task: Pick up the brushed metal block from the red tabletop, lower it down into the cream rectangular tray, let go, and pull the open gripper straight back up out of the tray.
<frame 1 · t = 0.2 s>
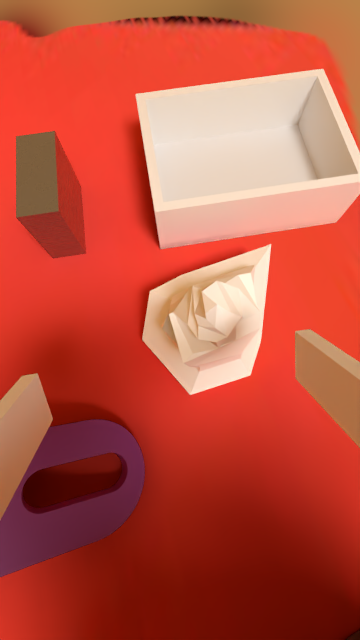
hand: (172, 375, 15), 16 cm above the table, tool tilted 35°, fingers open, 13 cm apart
cream rectangular tray: (235, 182, 37), on the table
cream faceted chunk: (209, 331, 32), on the table
mounting bracket: (54, 477, 28), on the table
brushed metal block: (67, 221, 36), on the table
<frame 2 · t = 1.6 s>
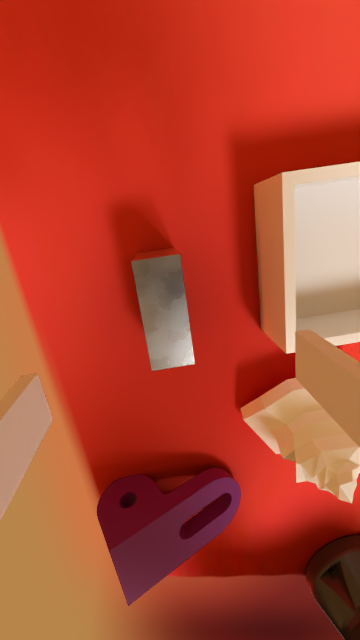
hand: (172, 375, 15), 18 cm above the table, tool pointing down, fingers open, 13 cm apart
cream rectangular tray: (352, 248, 32), on the table
cream faceted chunk: (293, 400, 38), on the table
mounting bracket: (174, 490, 42), on the table
brushed metal block: (162, 295, 32), on the table
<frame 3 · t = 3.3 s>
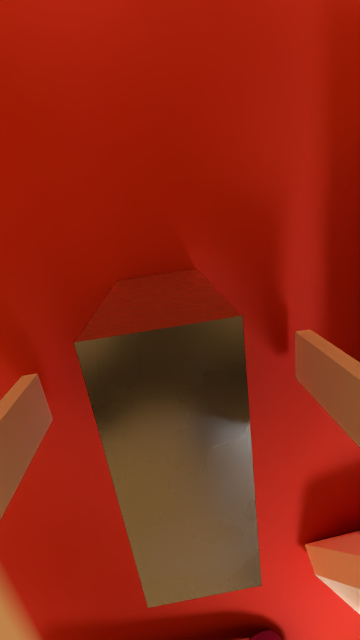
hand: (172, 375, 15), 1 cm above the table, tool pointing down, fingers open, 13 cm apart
brushed metal block: (171, 363, 16), on the table
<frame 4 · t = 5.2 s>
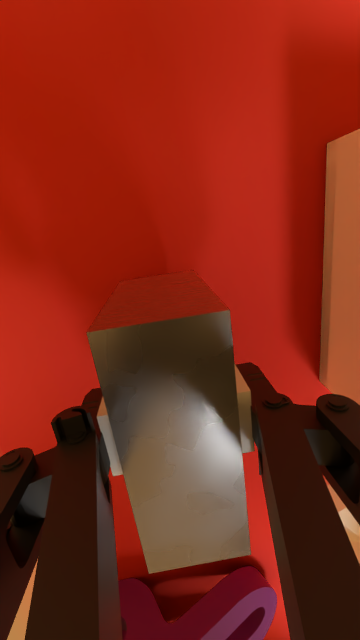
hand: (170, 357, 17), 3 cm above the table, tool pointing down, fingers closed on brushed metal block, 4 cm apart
cream faceted chunk: (356, 475, 26), on the table
mounting bracket: (181, 592, 30), on the table
brushed metal block: (170, 358, 17), point 3 cm above the table, touching gripper
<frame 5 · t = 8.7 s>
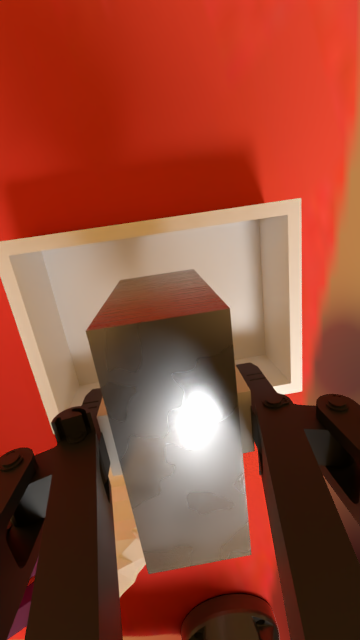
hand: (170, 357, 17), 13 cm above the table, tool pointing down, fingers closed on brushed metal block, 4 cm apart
cream rectangular tray: (163, 304, 29), on the table
cream faceted chunk: (130, 461, 35), on the table
mounting bracket: (16, 553, 38), on the table
brushed metal block: (170, 357, 17), point 13 cm above the table, touching gripper
when the fingers open (2 cm above the table, at t = 11.5 s): brushed metal block stays where it is, resting on cream rectangular tray.
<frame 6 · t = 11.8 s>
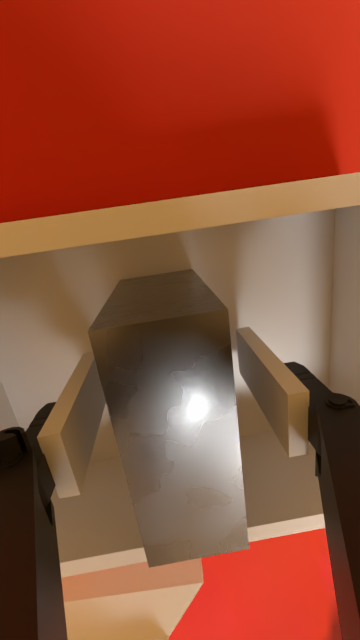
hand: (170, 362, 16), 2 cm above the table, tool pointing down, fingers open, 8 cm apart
cream rectangular tray: (168, 346, 18), on the table
cream faceted chunk: (120, 561, 24), on the table
brushed metal block: (170, 356, 17), point 1 cm above the table, touching cream rectangular tray
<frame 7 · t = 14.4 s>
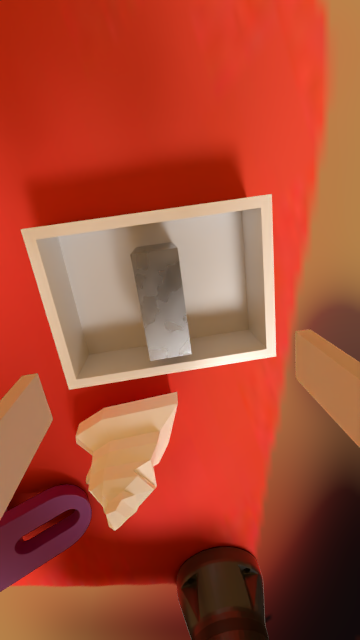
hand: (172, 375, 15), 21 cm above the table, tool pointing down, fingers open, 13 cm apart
cream rectangular tray: (160, 285, 34), on the table
cream faceted chunk: (132, 423, 40), on the table
mounting bracket: (33, 506, 44), on the table
brushed metal block: (161, 288, 33), point 1 cm above the table, touching cream rectangular tray
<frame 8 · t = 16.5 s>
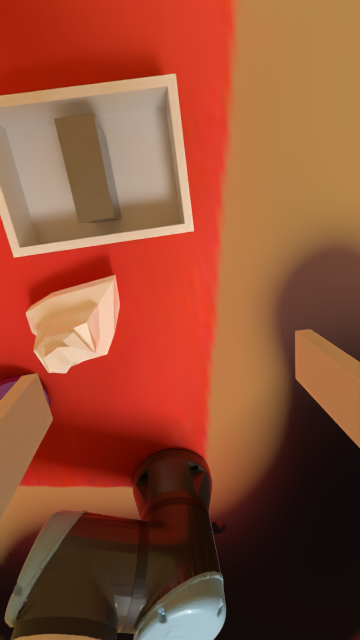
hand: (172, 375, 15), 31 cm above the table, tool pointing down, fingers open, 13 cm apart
cream rectangular tray: (100, 180, 39), on the table
cream faceted chunk: (83, 319, 45), on the table
brushed metal block: (99, 181, 38), point 1 cm above the table, touching cream rectangular tray
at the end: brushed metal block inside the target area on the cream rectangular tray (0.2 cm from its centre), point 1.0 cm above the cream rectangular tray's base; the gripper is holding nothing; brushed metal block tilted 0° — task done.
